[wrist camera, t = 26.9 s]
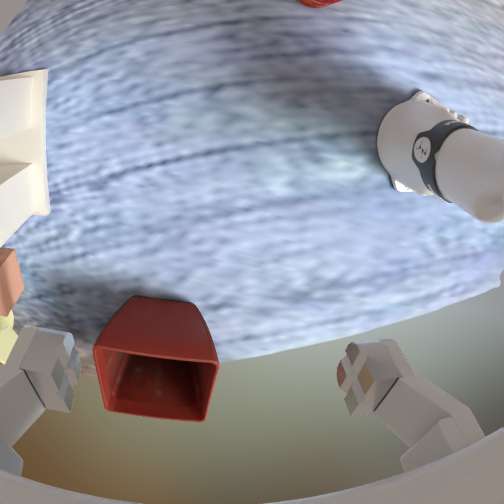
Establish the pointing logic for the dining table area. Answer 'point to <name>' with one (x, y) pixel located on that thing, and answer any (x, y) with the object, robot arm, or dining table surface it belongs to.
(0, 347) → the slatted curved stool
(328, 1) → the paper cup
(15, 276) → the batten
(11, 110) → the stand
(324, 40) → the dining table surface
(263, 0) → the dining table surface
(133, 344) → the plant pot
